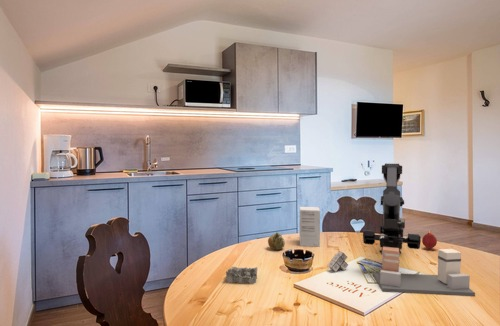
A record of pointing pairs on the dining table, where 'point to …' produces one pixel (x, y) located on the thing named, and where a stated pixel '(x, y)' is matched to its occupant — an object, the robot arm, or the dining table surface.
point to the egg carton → (236, 273)
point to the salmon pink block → (390, 259)
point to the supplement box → (310, 226)
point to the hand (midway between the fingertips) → (390, 260)
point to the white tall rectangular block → (448, 263)
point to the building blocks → (338, 262)
